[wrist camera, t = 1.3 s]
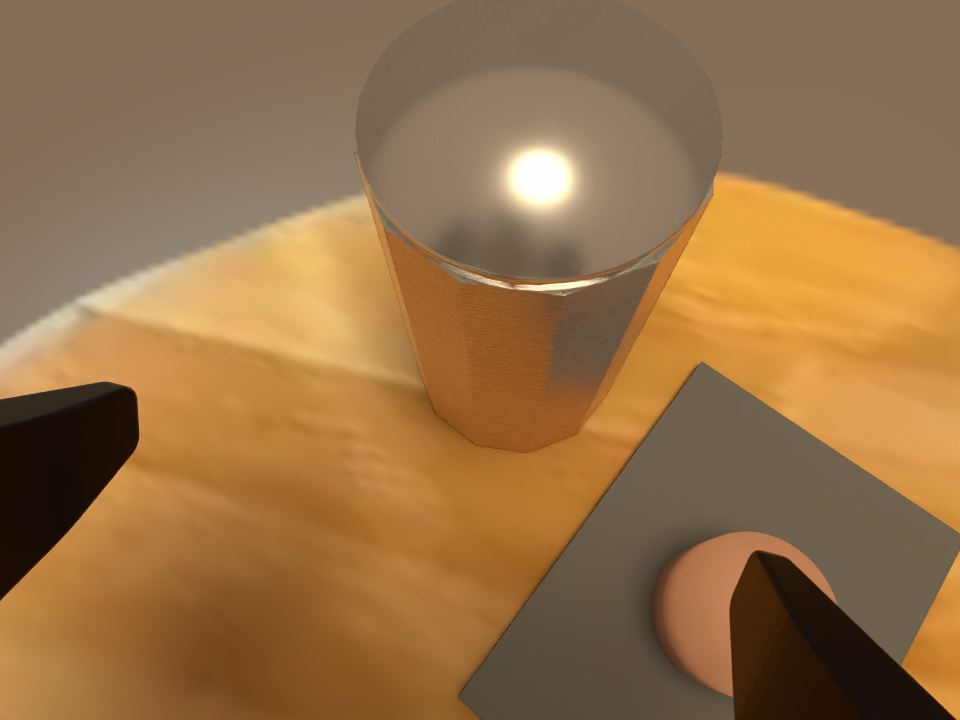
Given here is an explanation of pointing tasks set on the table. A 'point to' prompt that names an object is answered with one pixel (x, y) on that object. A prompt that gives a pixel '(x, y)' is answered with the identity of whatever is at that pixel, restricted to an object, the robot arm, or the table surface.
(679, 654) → the pink squat rounded piece
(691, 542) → the charcoal mat
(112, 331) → the table surface
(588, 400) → the brushed metal canister
